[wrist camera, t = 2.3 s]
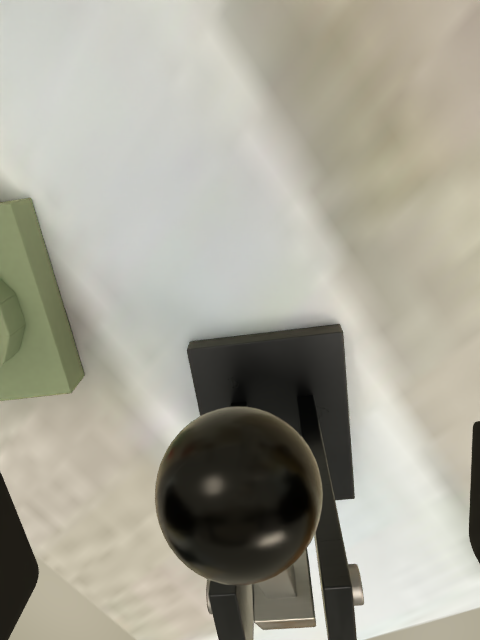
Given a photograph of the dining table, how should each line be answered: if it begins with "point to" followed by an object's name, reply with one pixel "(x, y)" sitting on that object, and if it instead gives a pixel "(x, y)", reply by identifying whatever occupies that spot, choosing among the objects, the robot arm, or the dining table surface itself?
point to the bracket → (316, 429)
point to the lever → (244, 508)
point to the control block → (31, 313)
